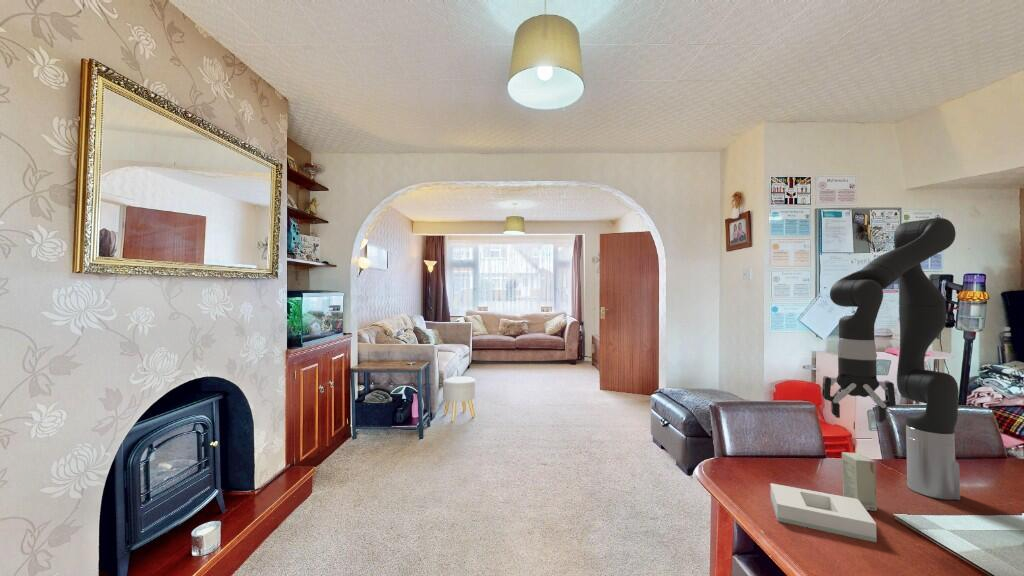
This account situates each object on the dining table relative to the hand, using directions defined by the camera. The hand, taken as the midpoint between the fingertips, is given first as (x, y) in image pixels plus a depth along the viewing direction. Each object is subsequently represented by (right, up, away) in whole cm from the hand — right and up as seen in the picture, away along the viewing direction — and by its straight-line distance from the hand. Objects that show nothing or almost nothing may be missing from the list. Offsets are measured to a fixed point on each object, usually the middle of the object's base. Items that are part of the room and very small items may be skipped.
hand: (857, 419), depth 102 cm
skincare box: (0, -22, -1) cm, 22 cm away
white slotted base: (-16, -21, -7) cm, 28 cm away
